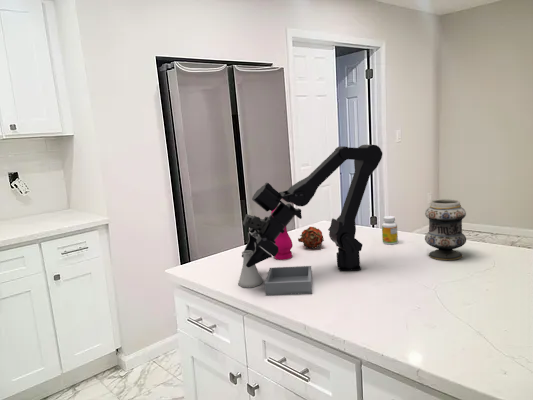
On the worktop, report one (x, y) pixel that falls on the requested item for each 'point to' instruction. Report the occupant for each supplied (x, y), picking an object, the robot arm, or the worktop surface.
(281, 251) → the pepper mill
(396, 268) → the worktop surface
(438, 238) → the apothecary jar
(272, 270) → the box
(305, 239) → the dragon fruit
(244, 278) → the flask
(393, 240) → the supplement bottle
